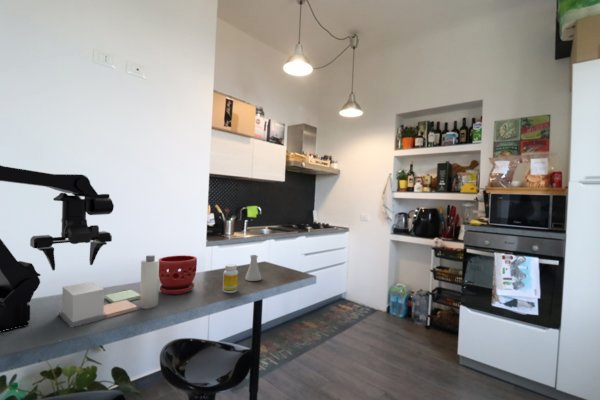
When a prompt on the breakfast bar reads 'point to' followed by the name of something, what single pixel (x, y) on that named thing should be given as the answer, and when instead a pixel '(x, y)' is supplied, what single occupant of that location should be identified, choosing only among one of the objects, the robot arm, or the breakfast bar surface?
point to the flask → (253, 270)
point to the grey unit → (82, 304)
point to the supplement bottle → (230, 278)
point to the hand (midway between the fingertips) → (73, 267)
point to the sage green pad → (122, 296)
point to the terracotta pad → (119, 308)
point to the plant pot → (177, 274)
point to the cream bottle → (149, 282)
